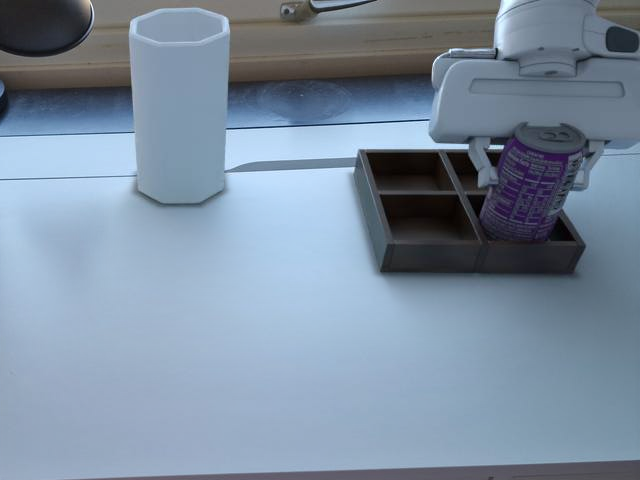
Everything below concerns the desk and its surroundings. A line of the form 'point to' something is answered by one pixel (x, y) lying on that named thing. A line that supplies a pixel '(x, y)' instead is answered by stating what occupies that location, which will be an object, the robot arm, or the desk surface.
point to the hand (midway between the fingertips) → (532, 188)
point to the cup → (180, 102)
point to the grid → (446, 217)
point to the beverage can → (532, 182)
